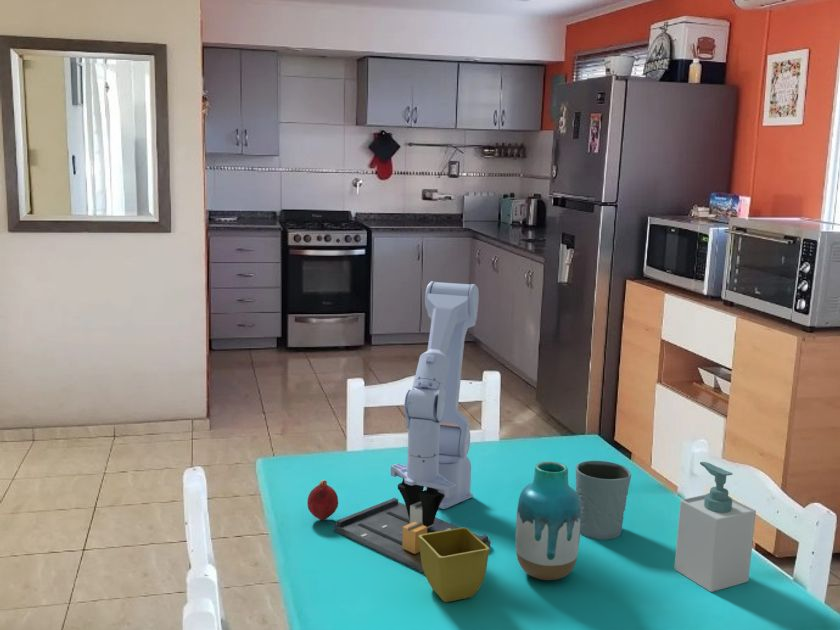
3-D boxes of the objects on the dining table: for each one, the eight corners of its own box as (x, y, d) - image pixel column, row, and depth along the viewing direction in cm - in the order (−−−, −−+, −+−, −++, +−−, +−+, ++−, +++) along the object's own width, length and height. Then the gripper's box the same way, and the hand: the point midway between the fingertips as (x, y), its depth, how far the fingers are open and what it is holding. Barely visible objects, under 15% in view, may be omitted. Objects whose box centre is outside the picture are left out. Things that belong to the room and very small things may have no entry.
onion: (332, 528, 162) (333, 487, 160) (303, 525, 163) (303, 484, 161) (341, 515, 167) (342, 476, 166) (313, 512, 168) (313, 473, 167)
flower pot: (416, 585, 142) (417, 533, 140) (464, 575, 145) (466, 525, 144) (438, 611, 134) (440, 557, 132) (488, 601, 138) (491, 548, 136)
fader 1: (420, 520, 163) (421, 498, 162) (432, 525, 161) (433, 503, 160) (409, 525, 161) (410, 503, 160) (421, 530, 159) (422, 508, 158)
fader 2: (414, 542, 154) (414, 519, 153) (426, 548, 152) (427, 525, 151) (402, 548, 152) (402, 524, 151) (414, 553, 150) (415, 530, 149)
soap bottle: (709, 559, 154) (720, 457, 150) (748, 582, 146) (760, 474, 142) (672, 569, 150) (682, 464, 146) (711, 592, 142) (722, 482, 138)
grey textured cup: (561, 528, 164) (565, 468, 162) (590, 513, 172) (594, 455, 169) (608, 546, 158) (613, 484, 155) (636, 529, 165) (641, 469, 162)
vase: (562, 596, 140) (569, 484, 136) (502, 578, 145) (508, 469, 141) (586, 570, 148) (594, 464, 145) (529, 554, 154) (535, 451, 150)
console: (395, 506, 172) (395, 496, 172) (490, 546, 156) (490, 535, 156) (334, 530, 161) (334, 520, 160) (430, 576, 145) (430, 565, 144)
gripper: (379, 447, 160) (378, 516, 162) (438, 468, 150) (435, 541, 153) (406, 438, 165) (404, 505, 168) (464, 458, 155) (461, 529, 158)
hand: (421, 522), depth 161 cm, fingers closed on fader 1, 3 cm apart
